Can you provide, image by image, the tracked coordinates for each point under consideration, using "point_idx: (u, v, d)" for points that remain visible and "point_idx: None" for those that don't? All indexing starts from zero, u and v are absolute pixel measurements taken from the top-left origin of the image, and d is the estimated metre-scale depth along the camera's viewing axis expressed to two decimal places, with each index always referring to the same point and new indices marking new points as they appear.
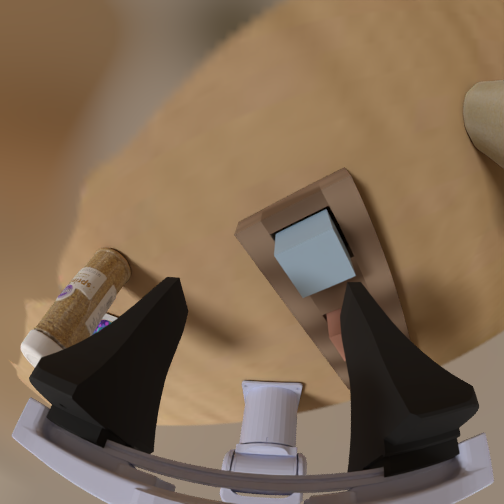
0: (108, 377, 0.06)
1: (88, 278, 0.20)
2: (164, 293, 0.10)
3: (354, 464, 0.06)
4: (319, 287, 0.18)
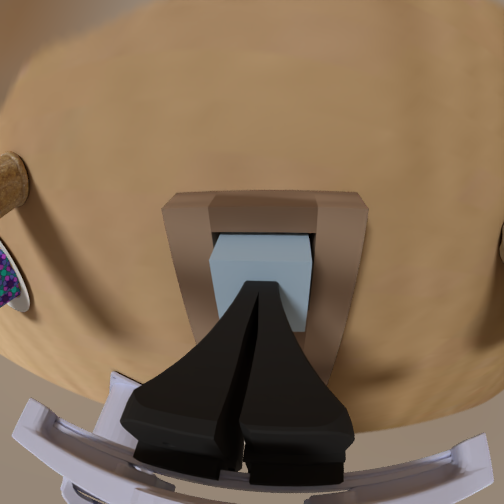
0: (230, 401, 0.06)
1: None
2: (255, 298, 0.10)
3: None
4: None
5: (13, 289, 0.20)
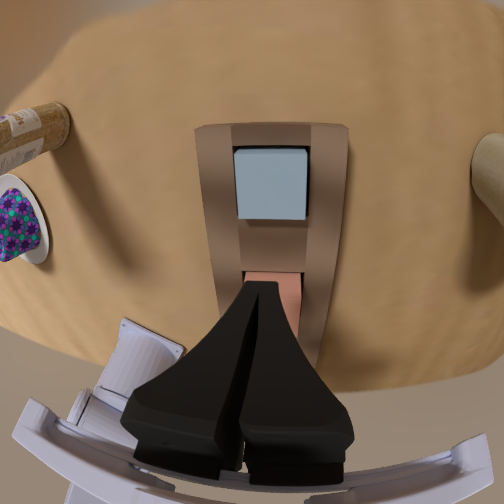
0: (230, 401, 0.06)
1: (24, 117, 0.12)
2: (255, 298, 0.10)
3: None
4: (261, 214, 0.16)
5: (33, 237, 0.23)
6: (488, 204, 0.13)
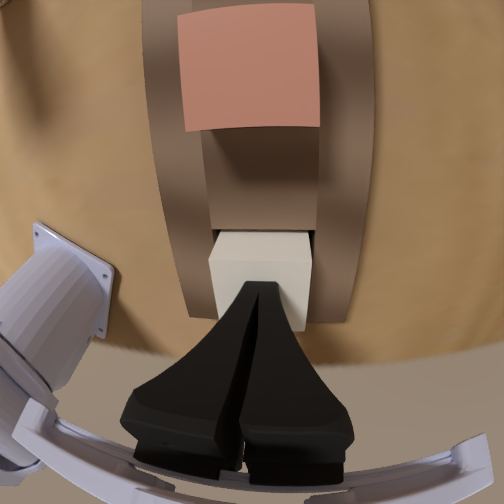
0: (230, 401, 0.06)
1: None
2: (255, 298, 0.10)
3: None
4: None
5: None
6: None
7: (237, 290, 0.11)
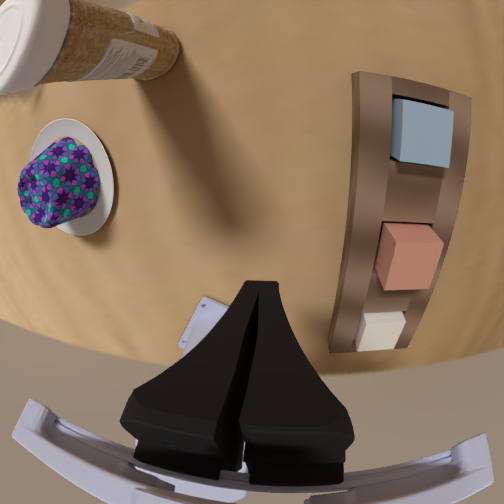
0: (230, 401, 0.06)
1: (142, 19, 0.10)
2: (255, 298, 0.10)
3: None
4: (419, 158, 0.14)
5: (89, 194, 0.21)
6: None
7: (373, 334, 0.22)
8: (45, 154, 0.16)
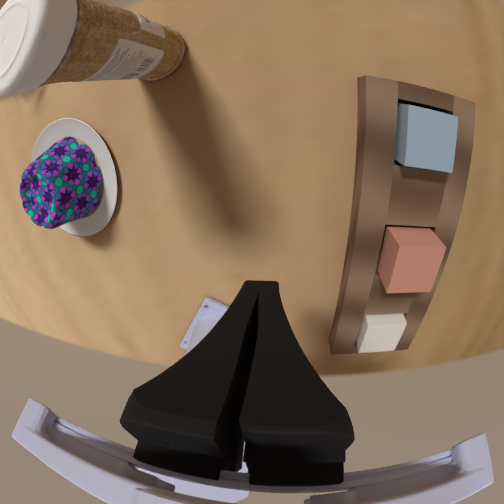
0: (230, 401, 0.06)
1: (149, 19, 0.10)
2: (255, 298, 0.10)
3: None
4: (423, 163, 0.14)
5: (93, 193, 0.20)
6: None
7: (374, 336, 0.22)
8: (47, 154, 0.16)
